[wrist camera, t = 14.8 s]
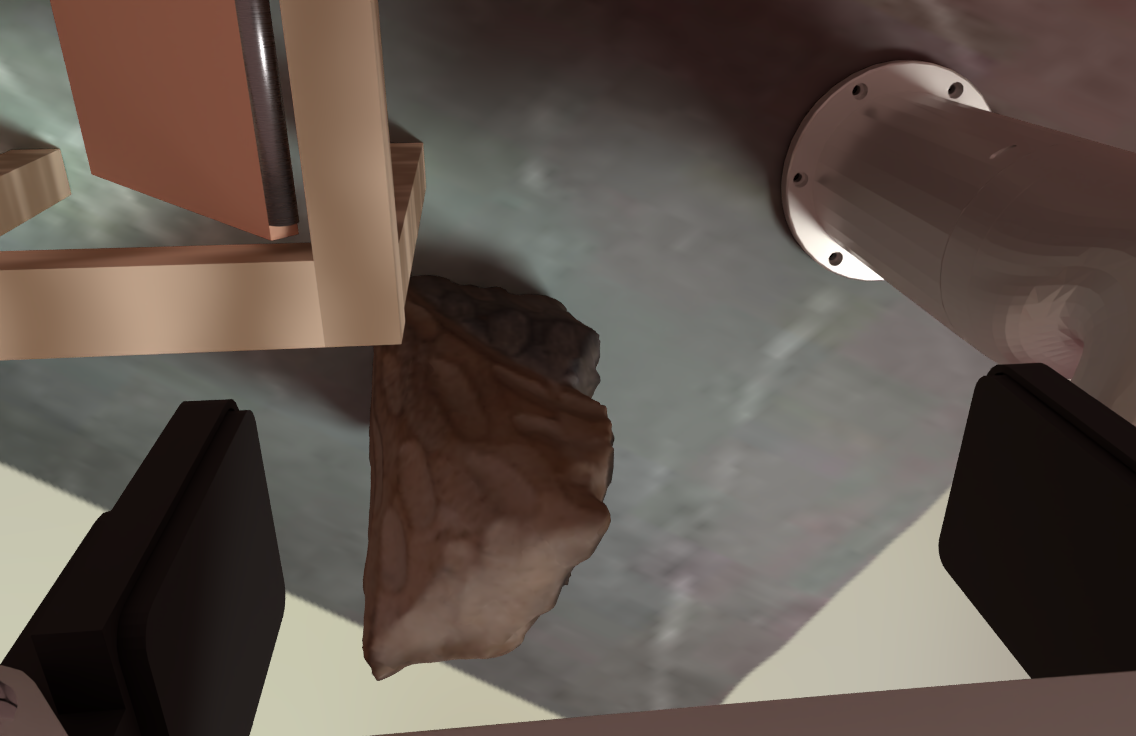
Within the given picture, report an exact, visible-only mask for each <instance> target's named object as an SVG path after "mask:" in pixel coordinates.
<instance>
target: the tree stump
mask: <svg viewBox="0 0 1136 736" xmlns="http://www.w3.org/2000/svg"><path fill="white" fill-rule="evenodd" d="M404 313H405V326H404V332H403V337H402V343H401V344H394V345H374V347H373V348H374V358H373V371H372V397H371V408H370V426H369V437H370V442H369V460H370V465H371V493H370V510H369V527H368V540H369V542H368V550H367V557H366V563H365V569H364V576H363V591H364V594H365V612H364V629H363V639H362V641H363V647H362V648H363V651H364V658H365V660H366V662H367V663H368V664H369V666H370V667H371V669H372V674H373V675H374V677H375V678H376V680H377V681H380V680H383V679H385V678H387V677H390V676H392V675H393V674H395V673H397V672H398V671H400V670H401V669H403V668H404V667H406V666H409V665H412V664H418V663H432V662H440V661H448V660H454V659H477V658H480V659H488V658H494V657H498V656H502V655H505V654H507V653H509V652H511V651H513V650H514V649H515V648H517V647H518V646H519V645H521V643H522V642H523V640H524V637H525V634H526V632H527V631H528V630H529V629H530V627H531V626H532V625H533V624H534V622H535V621H536V620H537V619H538V617H539V616H540V615H541V614H544V613H546V612H548V611H550V610H551V609H552V608H554V606H555V605H556V602H557V599H558V597H559V594H560V591H561V589H562V587H563V586H564V585H568V582H569V577H570V576H571V571H572V570H573V568H574V567H575V566H576V565H578V564H579V563H580V562H583V561H585V560H587V559H588V558H590V556H591V555H592V554H593V553H594V551H595V549H596V548H597V546H598V544H599V542H600V541H601V539H602V537H603V536H604V534H605V533H606V531H607V530H608V527H609V524H610V522H611V518H610V513H609V510H608V508H607V506H606V505H605V504H604V503H603V500H604V497H605V495H606V491H607V487H608V486H609V485H610V483H611V480H612V474H613V463H614V448H613V447H612V446H613V442H614V435H613V433H612V430H611V428H612V424H611V421H610V419H609V418H608V416H607V408H606V406H604V405H601V404H600V403H599V402H597V401H595V400H593V399H591V398H592V396H593V394H594V391H595V389H596V387H597V386H598V384H599V383H600V376H599V374H598V372H597V371H596V366H597V364H598V362H599V358H600V340H599V335H598V334H597V333H596V331H594V330H593V329H592V328H590V327H588V326H586V325H584V324H582V323H581V322H580V321H578V320H576V319H575V318H574V317H573V316H572V315H571V314H570V313H569V312H567V309H566V307H565V306H564V305H563V304H562V303H561V302H559V301H558V300H556V299H553V298H550V297H548V296H543V295H535V294H523V295H515V294H509V293H508V292H507V291H506V290H505V289H503V288H501V287H490V288H479V287H477V286H473V285H458V284H456V283H453V282H451V281H450V280H448V279H447V278H444V277H440V276H434V275H421V276H412V277H410V279H409V284H408V290H407V295H406V301H405V306H404Z"/></svg>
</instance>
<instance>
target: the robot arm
mask: <svg viewBox="0 0 1136 736" xmlns="http://www.w3.org/2000/svg"><path fill="white" fill-rule="evenodd" d="M855 86H857V91H856V92H855V93H854V94H852V91H853V88H854V87H855ZM950 86H951V90H950V91H949V92H948V90H949V87H950ZM797 173H799V178H798V179H797V180H793V179H794V176H795V175H796V174H797ZM781 191H782V205H783V209H784V214H785V218H786V222H787V224H788V226H789V228H790V230H791V232H792V235H793V237H794V238H795V240H796V241H797V242H798V244H799V245H800V246H801V247H802V249H803V250H804V251H805V252H806V253H807V254H808V255H809V256H810V257H811V258H812V259H813V260H815V261H816V262H817V263H818V264H820V265H821V266H823V267H824V268H825V269H827V270H829V271H830V272H833V273H835V274H838V275H841V276H843V277H846V278H849V279H856V280H862V281H884V280H885V281H887V282H888V283H889V284H891V285H892V286H893V287H895V288H896V289H897V290H899V291H900V292H901V293H902V294H904V295H905V296H906V297H908V298H909V299H910V300H912V301H913V302H914V303H916V304H917V305H918V306H920V307H921V308H922V309H923V310H925V311H926V312H927V313H929V314H930V315H931V316H933V317H934V318H935V319H937V320H938V321H939V322H940V323H942V324H943V325H944V326H946V327H947V328H948V329H950V330H951V331H952V332H954V333H955V334H956V335H958V336H959V337H960V338H962V339H963V340H964V341H966V342H967V343H969V344H970V345H971V346H973V347H974V348H975V349H977V350H978V351H979V352H981V353H982V354H983V355H985V356H986V357H988V358H989V359H991V360H993V361H995V362H996V363H998V364H1000V365H996V366H994V367H993V368H991V370H990V371H989V372H988V374H987V376H983V377H981V378H980V379H979V380H978V382H977V383H976V386H975V389H974V393H973V398H972V402H971V406H970V410H969V415H968V419H967V423H966V427H965V432H964V436H963V440H962V444H961V449H960V453H959V457H958V461H957V466H956V470H955V474H954V478H953V483H952V487H951V491H950V495H949V500H948V504H947V508H946V512H945V517H944V521H943V525H942V529H941V534H940V538H939V555H940V559H941V562H942V564H943V566H944V568H945V569H946V571H947V572H948V573H949V575H950V576H951V577H952V578H953V580H954V581H955V582H956V584H957V585H958V586H959V587H960V588H961V590H962V591H963V592H964V594H965V595H966V596H967V597H968V599H969V600H970V601H971V603H972V604H973V605H974V606H975V607H976V609H977V610H978V611H979V613H980V614H981V615H982V616H983V618H984V619H985V620H986V622H987V623H988V624H989V625H990V627H991V628H992V629H993V630H994V632H995V633H996V634H997V636H998V637H999V638H1000V639H1001V641H1002V642H1003V643H1004V644H1005V646H1006V647H1007V648H1008V650H1009V651H1010V652H1011V653H1012V655H1013V656H1014V657H1015V658H1016V660H1017V661H1018V662H1019V664H1020V665H1021V666H1022V667H1023V669H1024V670H1025V671H1026V672H1027V674H1028V675H1029V676H1030V677H1031V679H1022V680H1009V681H998V682H985V683H972V684H960V685H948V686H936V687H924V688H912V689H899V690H887V691H875V692H863V693H851V694H839V695H828V696H817V697H804V698H793V699H781V700H770V701H758V702H746V703H735V704H723V705H712V706H700V707H688V708H677V709H665V710H653V711H641V712H630V713H618V714H606V715H595V716H584V717H573V718H563V719H553V720H541V721H529V722H518V723H507V724H496V725H485V726H473V727H462V728H451V729H440V730H430V731H429V730H428V731H417V732H406V733H395V734H384V735H372V736H1136V153H1134V152H1131V151H1127V150H1123V149H1120V148H1116V147H1113V146H1109V145H1106V144H1102V143H1099V142H1095V141H1092V140H1088V139H1085V138H1081V137H1078V136H1074V135H1071V134H1067V133H1064V132H1060V131H1057V130H1053V129H1049V128H1046V127H1042V126H1039V125H1035V124H1032V123H1028V122H1025V121H1021V120H1018V119H1014V118H1011V117H1007V116H1004V115H1000V114H997V113H993V112H992V111H991V109H990V107H989V106H988V104H987V102H986V100H985V99H984V97H983V95H982V94H981V93H980V92H979V91H978V90H977V88H976V87H975V86H974V85H973V84H972V83H971V82H970V81H969V80H968V79H966V78H964V77H963V76H961V75H960V74H958V73H957V72H955V71H953V70H952V69H949V68H946V67H943V66H940V65H937V64H934V63H929V62H924V61H918V60H894V61H889V62H885V63H880V64H875V65H872V66H870V67H867V68H865V69H863V70H860V71H858V72H856V73H853V74H852V75H850V76H849V77H847V78H846V79H844V80H842V81H841V82H839V83H838V84H836V85H835V86H833V87H832V88H831V89H830V90H829V91H828V92H827V93H826V94H825V95H824V96H823V97H821V98H820V99H819V100H818V101H817V102H816V103H815V105H814V106H813V107H812V109H811V110H810V111H809V112H808V114H807V115H806V116H805V118H804V119H803V120H802V122H801V124H800V126H799V128H798V129H797V131H796V133H795V135H794V137H793V139H792V141H791V144H790V146H789V149H788V152H787V155H786V158H785V161H784V167H783V174H782V180H781ZM832 253H834V254H833V256H832V257H831V258H829V257H830V255H831V254H832ZM1068 379H1071V381H1069V380H1068ZM284 608H285V584H284V578H283V572H282V567H281V561H280V556H279V550H278V544H277V539H276V533H275V527H274V522H273V516H272V511H271V505H270V499H269V494H268V488H267V483H266V477H265V471H264V466H263V460H262V454H261V449H260V443H259V438H258V432H257V426H256V421H255V417H254V415H253V412H252V411H251V410H240V411H239V409H238V407H237V404H236V402H235V401H234V400H233V399H227V400H205V401H183V402H182V403H181V404H180V405H179V407H178V409H177V410H176V412H175V413H174V415H173V416H172V418H171V419H170V421H169V422H168V424H167V425H166V427H165V429H164V430H163V432H162V433H161V435H160V436H159V438H158V439H157V441H156V442H155V444H154V446H153V447H152V449H151V450H150V452H149V453H148V455H147V456H146V458H145V459H144V461H143V462H142V464H141V466H140V467H139V469H138V470H137V472H136V473H135V475H134V476H133V478H132V479H131V481H130V482H129V484H128V486H127V487H126V489H125V490H124V492H123V493H122V495H121V496H120V498H119V499H118V501H117V503H116V504H115V506H114V507H113V509H112V510H111V511H108V512H105V513H103V514H102V515H101V516H100V517H99V518H98V519H97V520H96V521H95V523H94V524H93V526H92V527H91V529H90V531H89V532H88V533H87V535H86V536H85V538H84V539H83V541H82V543H81V544H80V545H79V547H78V548H77V550H76V551H75V553H74V555H73V556H72V557H71V559H70V560H69V562H68V564H67V565H66V566H65V568H64V569H63V571H62V572H61V574H60V575H59V577H58V578H57V580H56V582H55V583H54V585H53V586H52V588H51V589H50V591H49V592H48V594H47V595H46V597H45V598H44V600H43V601H42V603H41V604H40V606H39V607H38V609H37V610H36V612H35V613H34V615H33V616H32V618H31V619H30V621H29V622H28V624H27V625H26V627H25V628H24V630H23V631H22V633H21V634H20V636H19V637H18V639H17V640H16V642H15V643H14V645H13V646H12V648H11V649H10V651H9V652H8V654H7V655H6V657H5V658H4V660H3V661H2V663H1V664H0V736H249V735H250V732H251V728H252V725H253V721H254V717H255V714H256V711H257V707H258V703H259V699H260V696H261V693H262V689H263V686H264V682H265V679H266V675H267V671H268V668H269V664H270V661H271V657H272V653H273V650H274V647H275V643H276V639H277V636H278V632H279V629H280V625H281V622H282V618H283V614H284Z"/></svg>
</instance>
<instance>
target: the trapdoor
mask: <svg viewBox="0 0 1136 736" xmlns="http://www.w3.org/2000/svg"><path fill="white" fill-rule="evenodd" d="M50 2H51V6H52V11H53V15H54V19H55V23H56V27H57V31H58V36H59V40H60V44H61V48H62V52H63V57H64V61H65V65H66V69H67V73H68V77H69V82H70V86H71V90H72V94H73V98H74V103H75V107H76V111H77V115H78V119H79V124H80V128H81V132H82V136H83V140H84V144H85V149H86V153H87V157H88V161H89V165H90V170H91V174H92V175H95V176H98V177H101V178H103V179H106V180H109V181H111V182H114V183H117V184H119V185H122V186H125V187H128V188H130V189H133V190H136V191H138V192H141V193H144V194H146V195H149V196H152V197H155V198H157V199H160V200H163V201H165V202H168V203H171V204H173V205H176V206H179V207H182V208H184V209H187V210H190V211H192V212H195V213H198V214H200V215H203V216H206V217H209V218H211V219H214V220H217V221H219V222H222V223H225V224H227V225H230V226H233V227H236V228H238V229H241V230H244V231H246V232H249V233H252V234H254V235H257V236H260V237H263V238H265V239H268V240H271V241H272V240H276V239H280V238H285V237H289V236H293V235H297V234H299V232H298V225H297V223H298V222H299V216H298V209H297V202H296V194H295V187H294V180H293V172H292V165H291V158H290V150H289V143H288V136H287V128H286V121H285V114H284V106H283V99H282V92H281V85H280V77H279V70H278V63H277V55H276V48H275V41H274V33H273V26H272V19H271V11H270V4H269V0H50Z"/></svg>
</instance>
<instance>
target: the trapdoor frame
mask: <svg viewBox="0 0 1136 736" xmlns="http://www.w3.org/2000/svg"><path fill="white" fill-rule="evenodd" d="M279 2H280V9H281V17H282V24H283V32H284V39H285V47H286V55H287V62H288V70H289V77H290V85H291V92H292V100H293V108H294V115H295V123H296V130H297V138H298V146H299V153H300V161H301V168H302V176H303V183H304V191H305V199H306V206H307V214H308V221H309V229H310V236H311V243H278V244H243V245H207V246H172V247H136V248H100V249H65V250H29V251H0V360H19V359H44V358H69V357H94V356H119V355H144V354H169V353H194V352H219V351H244V350H269V349H294V348H319V347H344V346H369V345H394V344H401V343H402V337H403V332H404V326H405V313H404V306H405V301H406V295H407V290H408V284H409V279H410V273H411V268H412V262H413V257H414V251H415V246H416V240H417V235H418V229H419V224H420V218H421V213H422V207H423V202H424V196H425V191H426V176H425V162H424V148H423V143H390V139H389V127H388V115H387V104H386V92H385V81H384V69H383V57H382V46H381V34H380V22H379V11H378V0H279ZM70 195H71V191H70V187H69V183H68V179H67V175H66V171H65V167H64V163H63V159H62V155H61V151H60V149H27V150H10V151H7V152H5V153H2V154H0V236H2V235H3V234H5V233H7V232H8V231H10V230H12V229H14V228H15V227H17V226H19V225H20V224H22V223H24V222H25V221H27V220H29V219H31V218H32V217H34V216H36V215H37V214H39V213H41V212H42V211H44V210H46V209H48V208H49V207H51V206H53V205H54V204H56V203H58V202H59V201H61V200H63V199H65V198H66V197H68V196H70Z"/></svg>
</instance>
